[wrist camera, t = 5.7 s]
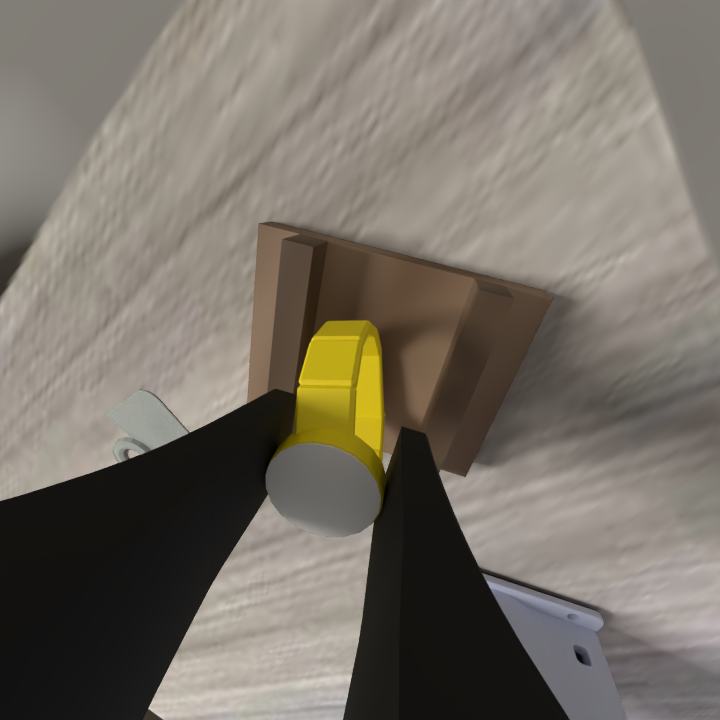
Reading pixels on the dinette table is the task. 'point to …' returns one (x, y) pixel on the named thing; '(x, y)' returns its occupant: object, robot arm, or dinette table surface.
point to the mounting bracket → (144, 424)
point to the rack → (395, 332)
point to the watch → (334, 435)
